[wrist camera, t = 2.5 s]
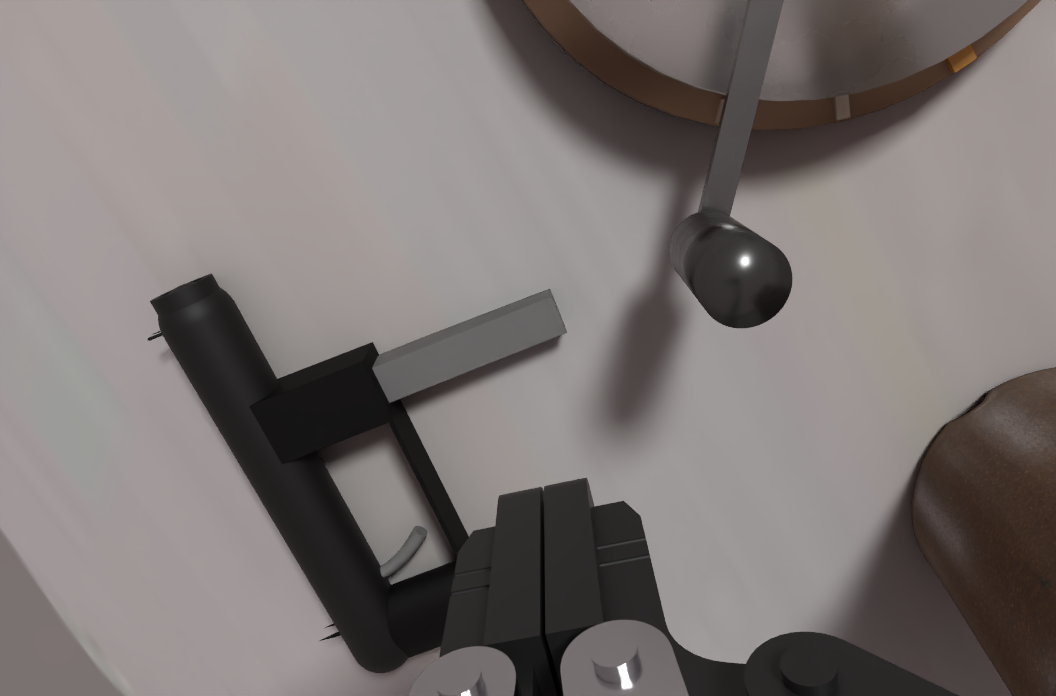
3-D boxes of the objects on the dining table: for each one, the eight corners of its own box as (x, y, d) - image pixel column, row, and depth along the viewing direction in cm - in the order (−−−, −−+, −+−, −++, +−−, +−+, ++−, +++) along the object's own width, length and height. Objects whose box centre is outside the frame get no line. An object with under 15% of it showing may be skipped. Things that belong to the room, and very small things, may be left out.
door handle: (494, 155, 26) (103, 320, 28) (668, 585, 32) (341, 703, 34) (494, 151, 29) (144, 298, 31) (653, 543, 36) (354, 652, 37)
